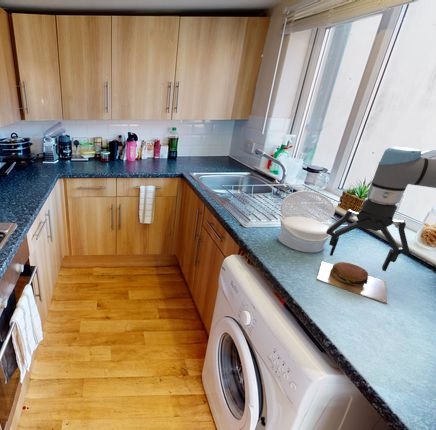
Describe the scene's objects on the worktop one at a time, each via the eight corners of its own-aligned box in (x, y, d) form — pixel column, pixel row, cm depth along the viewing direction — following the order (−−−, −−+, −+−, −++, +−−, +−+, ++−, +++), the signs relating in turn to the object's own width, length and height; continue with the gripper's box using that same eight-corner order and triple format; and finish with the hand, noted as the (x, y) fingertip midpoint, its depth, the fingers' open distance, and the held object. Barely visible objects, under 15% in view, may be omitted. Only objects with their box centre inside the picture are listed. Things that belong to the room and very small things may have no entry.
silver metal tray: (384, 281, 96) (385, 280, 96) (386, 304, 86) (387, 303, 86) (321, 262, 106) (321, 261, 106) (316, 279, 96) (316, 278, 96)
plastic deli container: (277, 249, 114) (291, 202, 106) (269, 227, 131) (281, 186, 123) (335, 258, 108) (354, 210, 100) (319, 235, 126) (334, 192, 117)
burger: (323, 269, 101) (328, 258, 99) (350, 270, 101) (355, 259, 99) (343, 288, 92) (349, 276, 90) (372, 288, 92) (378, 277, 90)
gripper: (329, 194, 89) (310, 252, 98) (444, 215, 75) (409, 281, 84) (332, 188, 95) (313, 244, 103) (439, 207, 80) (407, 270, 89)
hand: (356, 261), depth 93 cm, fingers open, 13 cm apart
